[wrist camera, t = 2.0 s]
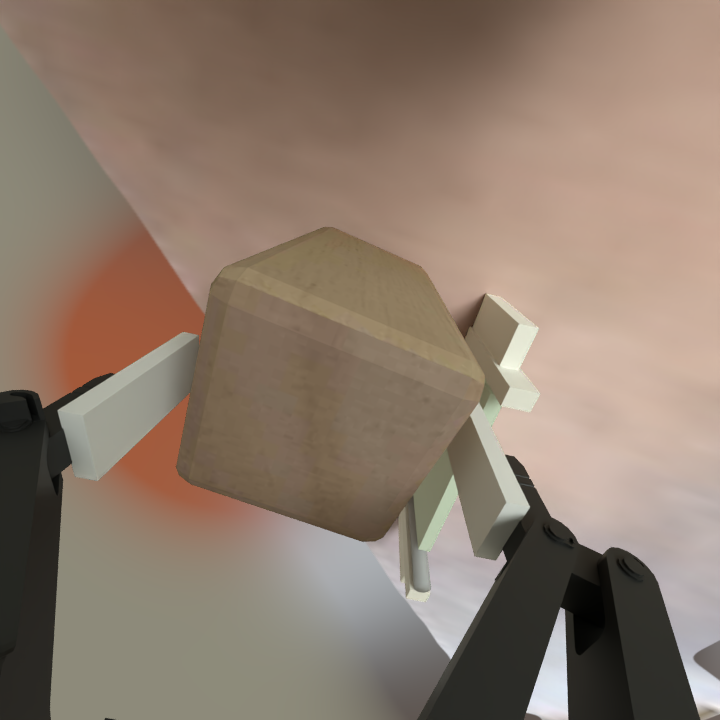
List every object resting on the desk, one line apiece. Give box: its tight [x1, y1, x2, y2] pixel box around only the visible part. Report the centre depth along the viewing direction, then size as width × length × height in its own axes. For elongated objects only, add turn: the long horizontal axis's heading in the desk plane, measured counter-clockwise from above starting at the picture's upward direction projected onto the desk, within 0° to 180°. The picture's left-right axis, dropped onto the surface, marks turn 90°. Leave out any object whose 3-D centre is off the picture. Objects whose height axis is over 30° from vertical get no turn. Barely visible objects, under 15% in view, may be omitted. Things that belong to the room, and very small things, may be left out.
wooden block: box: [176, 227, 485, 542], centre depth 21 cm, size 10×10×20 cm
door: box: [413, 379, 502, 552], centre depth 31 cm, size 19×3×8 cm, turn 168°
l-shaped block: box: [398, 294, 540, 602], centre depth 31 cm, size 31×2×11 cm, turn 169°
